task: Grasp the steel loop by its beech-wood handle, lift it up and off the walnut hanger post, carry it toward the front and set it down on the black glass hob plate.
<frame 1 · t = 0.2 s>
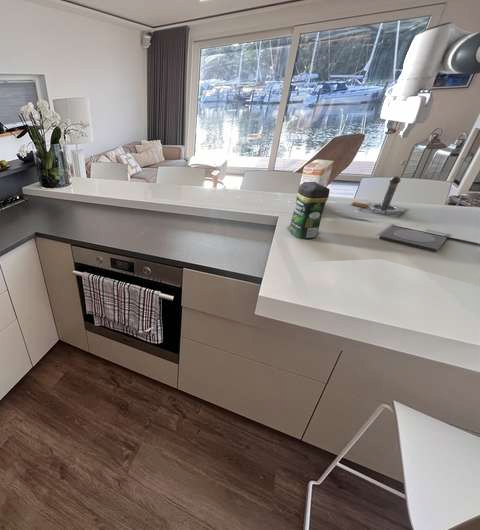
hand: (394, 135, 99), 30 cm above the countertop, tool pointing down, fingers open, 8 cm apart
steel loop: (383, 208, 115), point 2 cm above the countertop, touching hanger post
hanger post: (382, 212, 115), on the countertop
hob plate: (412, 238, 96), on the countertop
coffee jar: (301, 234, 105), on the countertop
coffeecake box: (307, 210, 125), on the countertop
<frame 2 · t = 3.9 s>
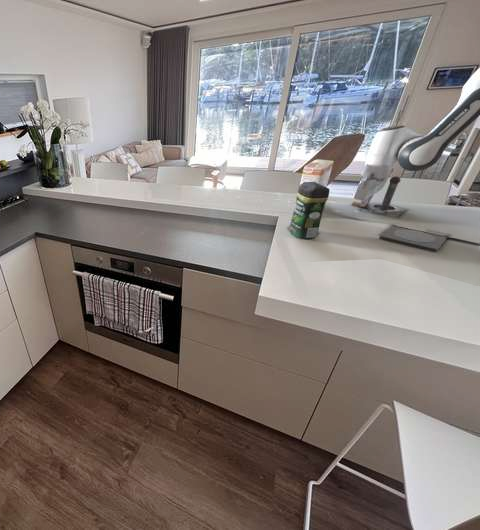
hand: (364, 205, 119), 2 cm above the countertop, tool pointing down, fingers closed on steel loop, 1 cm apart
steel loop: (383, 208, 115), point 2 cm above the countertop, touching gripper, hanger post
everything else where it was.
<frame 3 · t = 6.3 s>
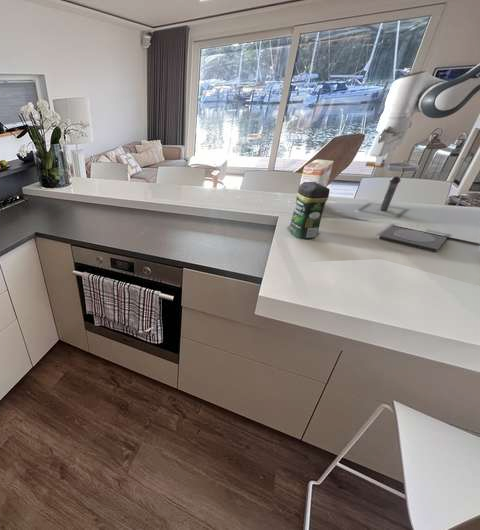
hand: (379, 164, 111), 18 cm above the countertop, tool pointing down, fingers closed on steel loop
steel loop: (400, 166, 106), point 18 cm above the countertop, touching gripper
everything else where it was.
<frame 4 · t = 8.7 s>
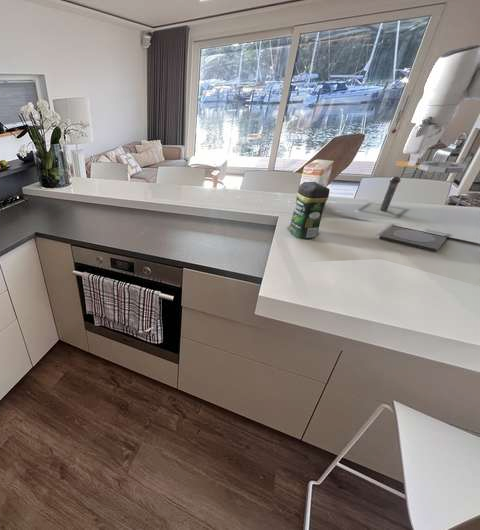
hand: (413, 164, 91), 23 cm above the countertop, tool pointing down, fingers closed on steel loop
steel loop: (441, 166, 86), point 23 cm above the countertop, touching gripper
everything else where it was.
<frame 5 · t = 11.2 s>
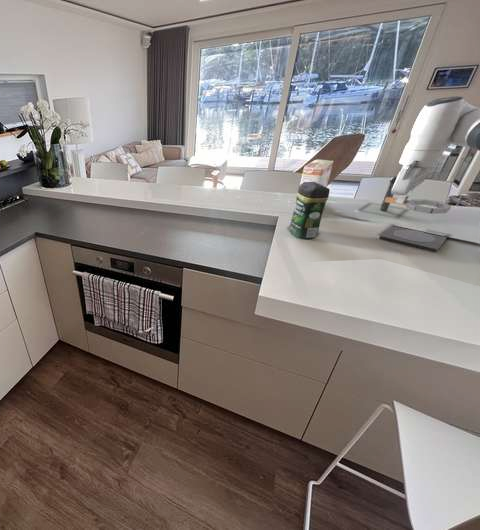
hand: (401, 201, 95), 11 cm above the countertop, tool pointing down, fingers closed on steel loop
steel loop: (427, 206, 90), point 11 cm above the countertop, touching gripper
everything else where it was.
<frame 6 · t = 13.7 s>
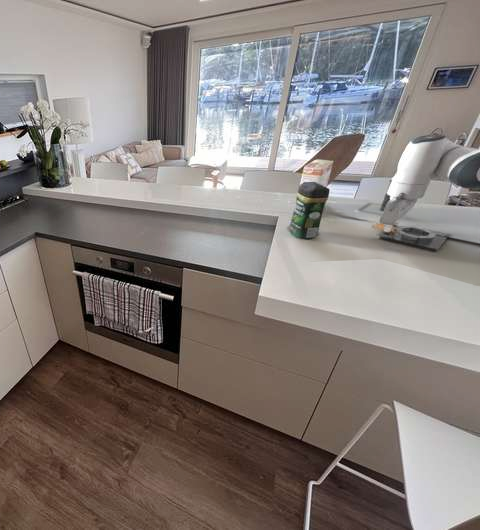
hand: (389, 229, 100), 1 cm above the countertop, tool pointing down, fingers open, 3 cm apart
steel loop: (414, 233, 95), point 2 cm above the countertop, touching hob plate
everything else where it was.
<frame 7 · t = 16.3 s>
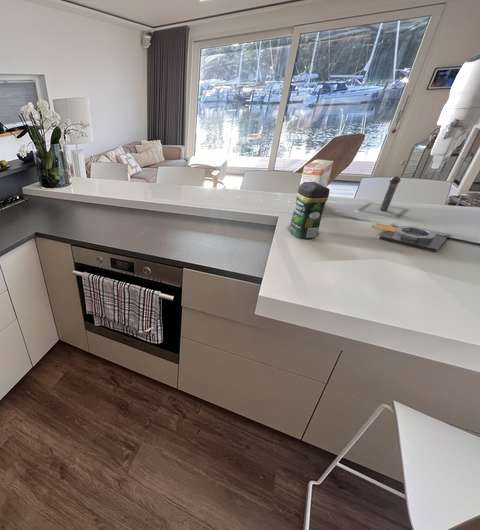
hand: (438, 165, 93), 21 cm above the countertop, tool pointing down, fingers open, 8 cm apart
nothing on the countertop moved.
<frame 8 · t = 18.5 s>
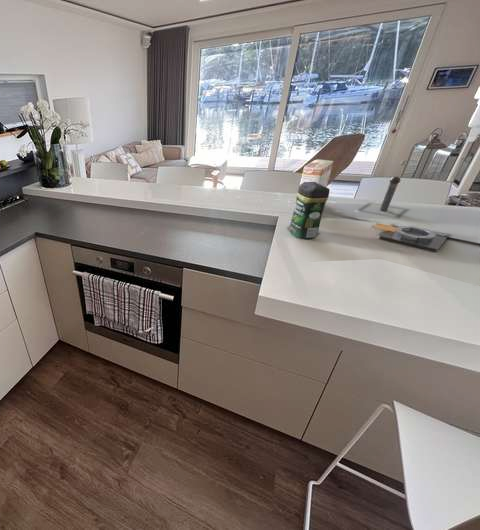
hand: (473, 139, 96), 27 cm above the countertop, tool pointing down, fingers open, 8 cm apart
nothing on the countertop moved.
at the end: steel loop inside the target area on the hob plate (0.1 cm from its centre), point 1.8 cm above the hob plate's base; the gripper is holding nothing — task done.
